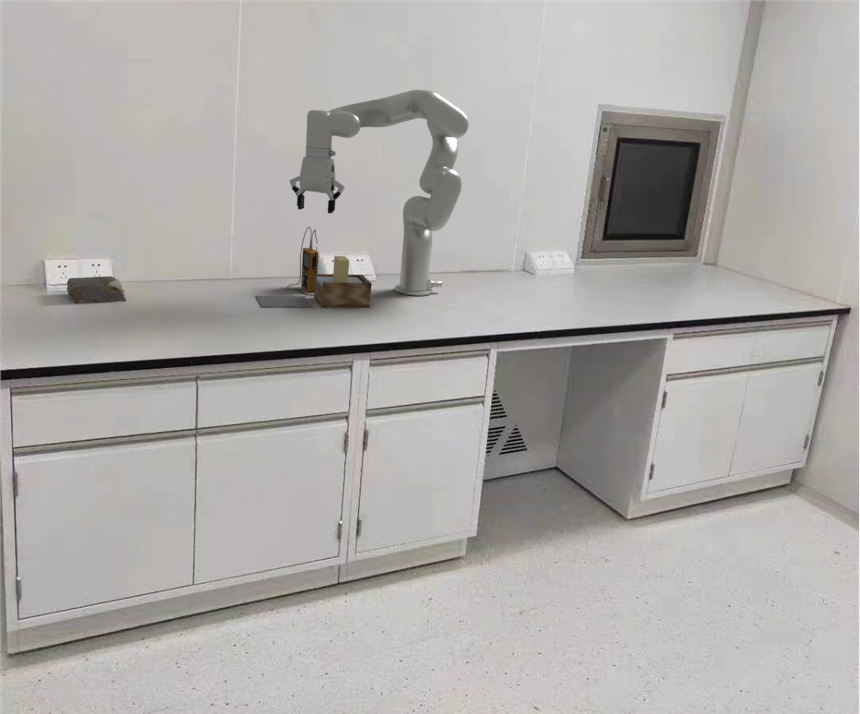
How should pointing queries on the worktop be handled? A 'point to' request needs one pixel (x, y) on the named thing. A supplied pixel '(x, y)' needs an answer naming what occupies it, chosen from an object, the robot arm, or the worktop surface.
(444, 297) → the worktop surface
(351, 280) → the cover plate
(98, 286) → the geological specimen
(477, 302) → the worktop surface
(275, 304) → the mat
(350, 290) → the case
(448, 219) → the robot arm
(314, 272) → the multimeter
